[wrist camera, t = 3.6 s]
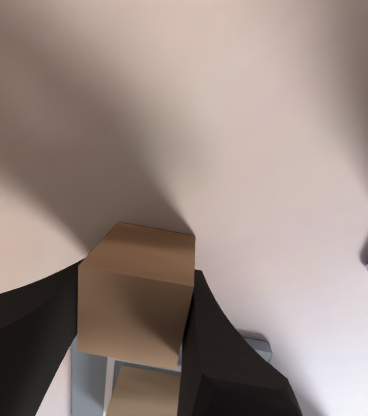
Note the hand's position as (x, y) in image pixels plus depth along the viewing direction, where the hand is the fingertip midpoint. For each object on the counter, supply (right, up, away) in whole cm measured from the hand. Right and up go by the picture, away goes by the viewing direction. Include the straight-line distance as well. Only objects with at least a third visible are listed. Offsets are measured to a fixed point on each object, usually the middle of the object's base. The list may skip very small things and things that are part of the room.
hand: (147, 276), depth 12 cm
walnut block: (0, 0, +1) cm, 1 cm away
